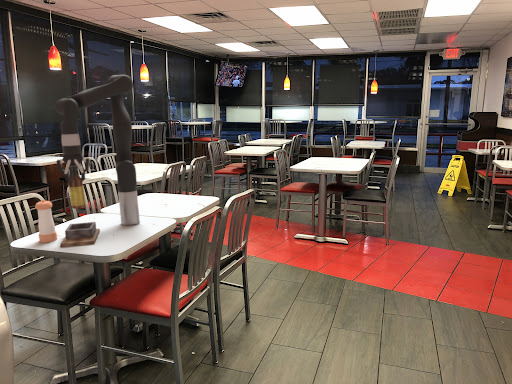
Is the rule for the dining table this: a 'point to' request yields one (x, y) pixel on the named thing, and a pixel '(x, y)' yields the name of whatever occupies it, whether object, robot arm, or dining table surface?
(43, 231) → the pepper shaker
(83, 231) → the stone serving dish
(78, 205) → the sauce bottle
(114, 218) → the dining table surface
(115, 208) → the dining table surface
